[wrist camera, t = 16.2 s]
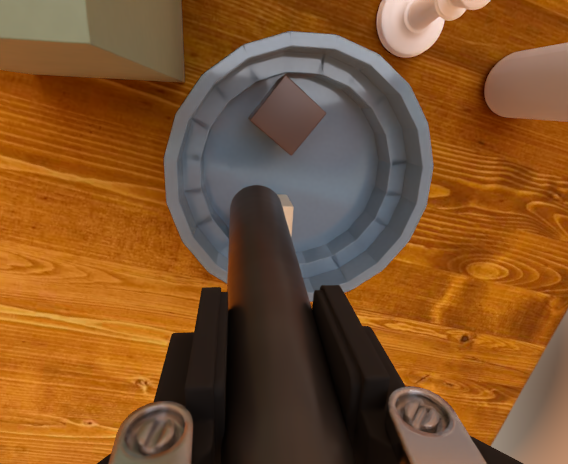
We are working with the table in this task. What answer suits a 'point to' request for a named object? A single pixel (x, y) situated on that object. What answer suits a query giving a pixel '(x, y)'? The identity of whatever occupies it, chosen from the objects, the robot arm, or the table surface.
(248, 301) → the stirring stick
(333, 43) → the bowl
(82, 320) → the table surface
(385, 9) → the chess piece
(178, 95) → the table surface
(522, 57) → the beverage can
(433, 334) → the table surface
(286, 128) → the walnut block
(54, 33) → the stand
